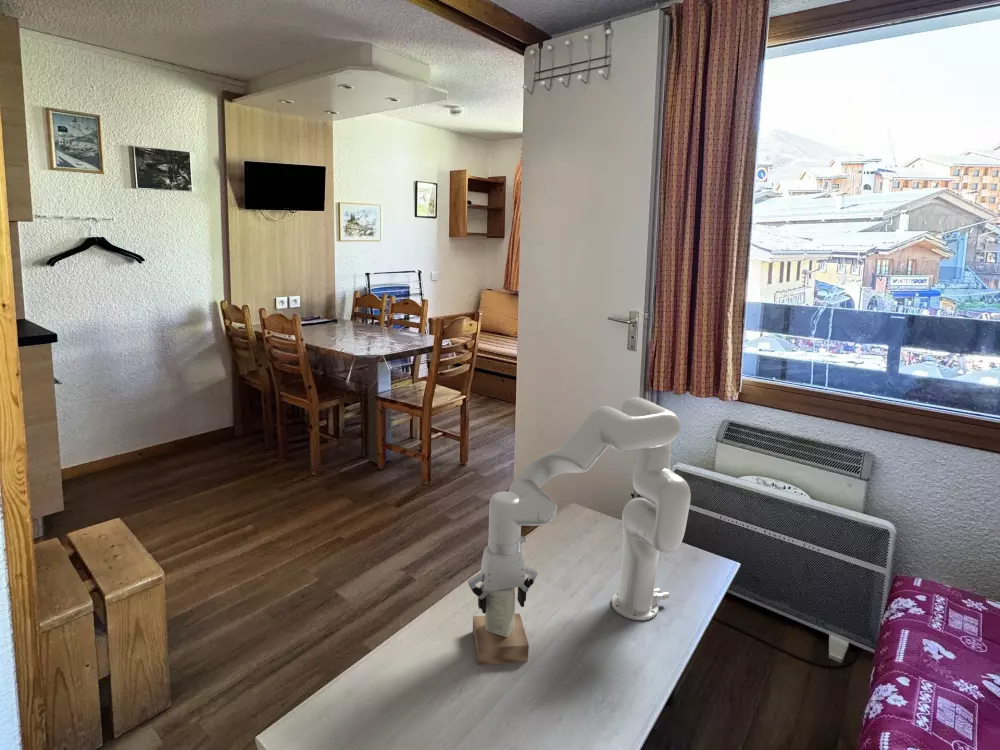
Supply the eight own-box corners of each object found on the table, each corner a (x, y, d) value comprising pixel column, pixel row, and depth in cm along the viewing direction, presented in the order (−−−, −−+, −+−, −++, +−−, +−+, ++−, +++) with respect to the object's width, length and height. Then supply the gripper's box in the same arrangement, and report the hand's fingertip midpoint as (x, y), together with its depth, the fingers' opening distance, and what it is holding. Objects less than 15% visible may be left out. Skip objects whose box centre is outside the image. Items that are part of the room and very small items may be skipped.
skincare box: (514, 628, 152) (516, 584, 149) (507, 638, 148) (508, 594, 145) (491, 620, 154) (493, 577, 151) (483, 630, 151) (484, 586, 148)
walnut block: (518, 630, 159) (519, 613, 158) (527, 663, 147) (528, 645, 146) (472, 633, 157) (473, 616, 156) (478, 666, 145) (478, 648, 144)
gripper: (533, 531, 151) (530, 592, 155) (464, 540, 146) (463, 603, 150) (544, 547, 144) (540, 610, 148) (472, 557, 139) (471, 622, 143)
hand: (502, 606), depth 149 cm, fingers open, 9 cm apart
